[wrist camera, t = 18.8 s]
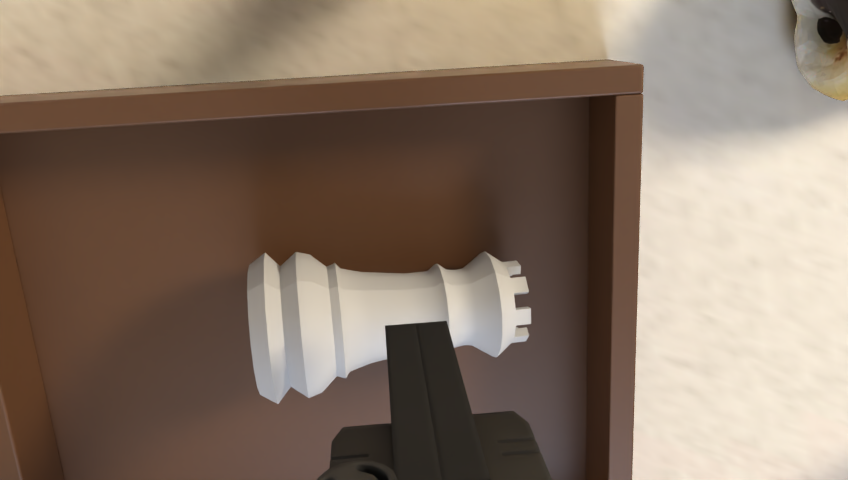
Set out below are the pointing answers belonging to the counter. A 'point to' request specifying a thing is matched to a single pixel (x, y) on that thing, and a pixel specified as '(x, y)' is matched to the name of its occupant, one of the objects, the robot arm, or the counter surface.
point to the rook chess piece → (369, 315)
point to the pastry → (823, 45)
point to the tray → (321, 238)
